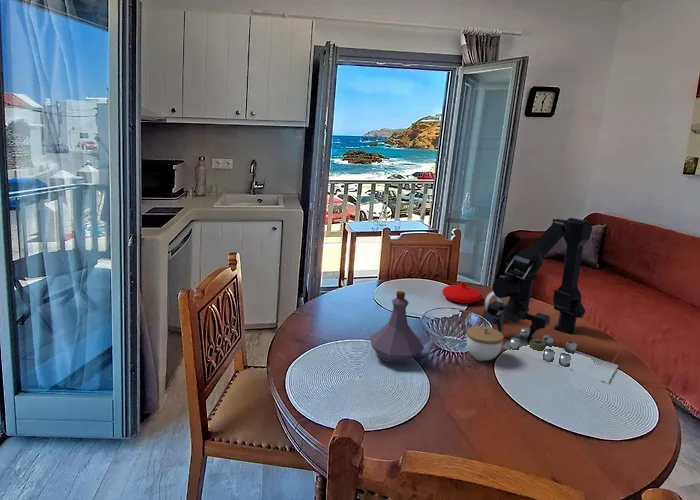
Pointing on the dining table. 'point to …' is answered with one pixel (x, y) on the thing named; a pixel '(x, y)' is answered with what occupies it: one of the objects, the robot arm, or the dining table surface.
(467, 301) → the red disc with nozzle
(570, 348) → the spacers
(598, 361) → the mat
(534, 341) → the nut
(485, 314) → the grey ring on stand
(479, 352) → the lidded jar
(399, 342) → the flask
